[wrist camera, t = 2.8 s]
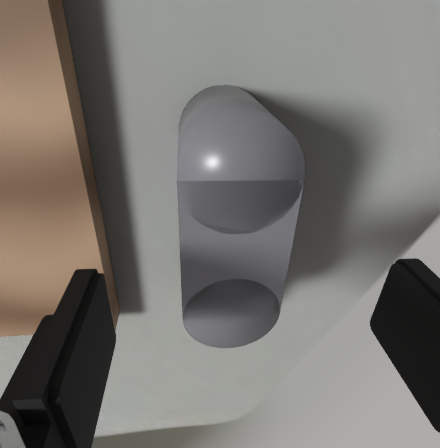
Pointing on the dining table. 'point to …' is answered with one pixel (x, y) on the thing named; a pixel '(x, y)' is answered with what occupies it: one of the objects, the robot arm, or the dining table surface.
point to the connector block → (235, 215)
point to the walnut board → (43, 170)
